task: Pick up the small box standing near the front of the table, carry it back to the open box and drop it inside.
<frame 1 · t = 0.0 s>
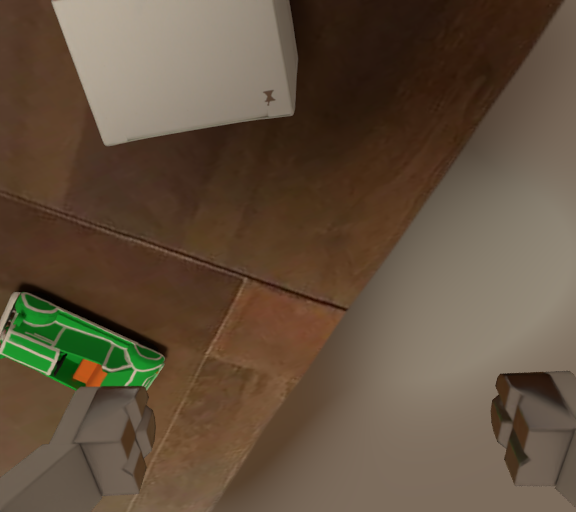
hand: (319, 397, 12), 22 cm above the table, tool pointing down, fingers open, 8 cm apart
toy car: (88, 334, 40), on the table
small box: (218, 19, 28), on the table
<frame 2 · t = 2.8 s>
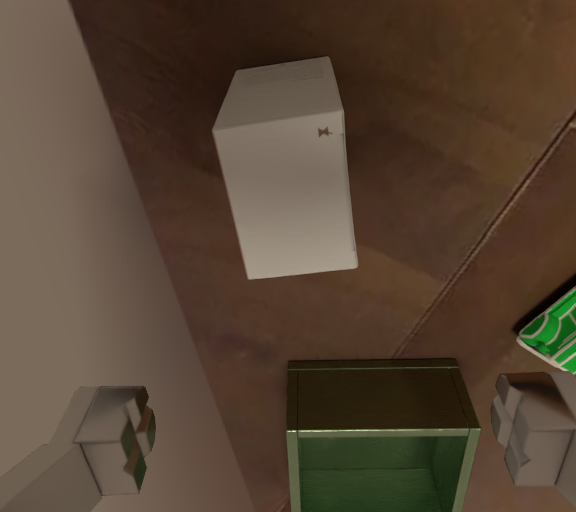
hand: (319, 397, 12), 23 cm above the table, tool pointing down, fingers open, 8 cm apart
open box: (367, 416, 45), on the table
small box: (292, 127, 32), on the table
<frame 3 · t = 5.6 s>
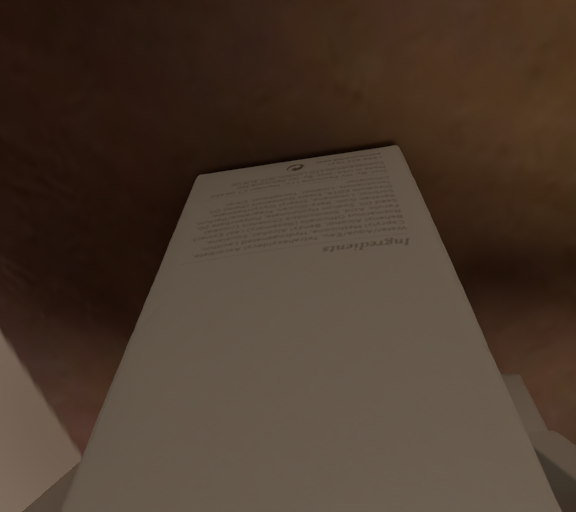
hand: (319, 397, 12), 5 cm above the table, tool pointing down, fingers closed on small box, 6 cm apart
small box: (317, 272, 16), on the table, touching gripper
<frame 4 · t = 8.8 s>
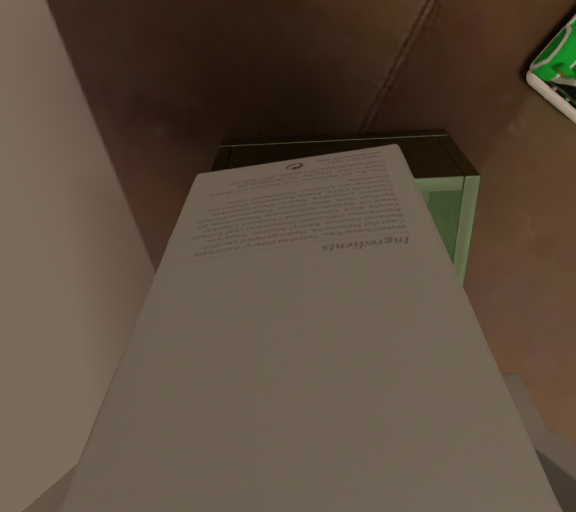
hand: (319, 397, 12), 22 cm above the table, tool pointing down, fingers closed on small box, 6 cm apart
open box: (333, 232, 35), on the table
small box: (316, 271, 16), point 17 cm above the table, touching gripper
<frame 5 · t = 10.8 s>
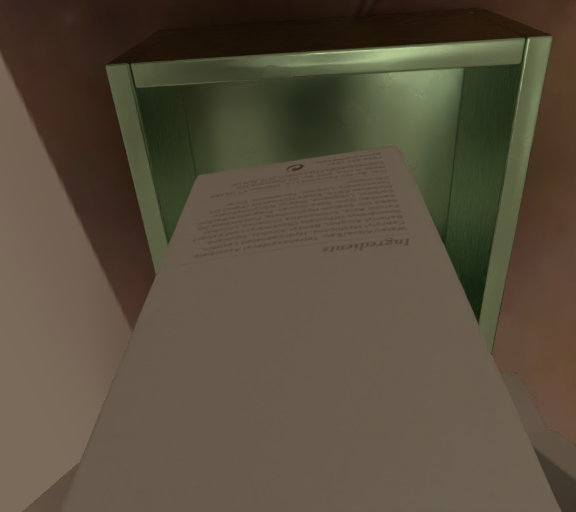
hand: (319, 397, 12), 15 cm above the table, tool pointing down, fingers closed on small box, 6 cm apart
open box: (322, 170, 25), on the table
small box: (317, 272, 16), point 10 cm above the table, touching gripper
when the fingers open (11 cm above the table, at t = 12.5 s): small box drops 5 cm, resting on open box.
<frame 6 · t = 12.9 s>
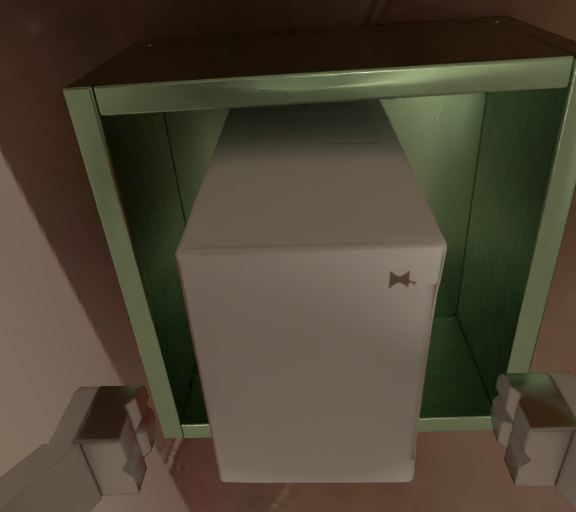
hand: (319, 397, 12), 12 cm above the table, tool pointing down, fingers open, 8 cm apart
open box: (324, 197, 22), on the table
small box: (308, 193, 21), point 1 cm above the table, touching open box
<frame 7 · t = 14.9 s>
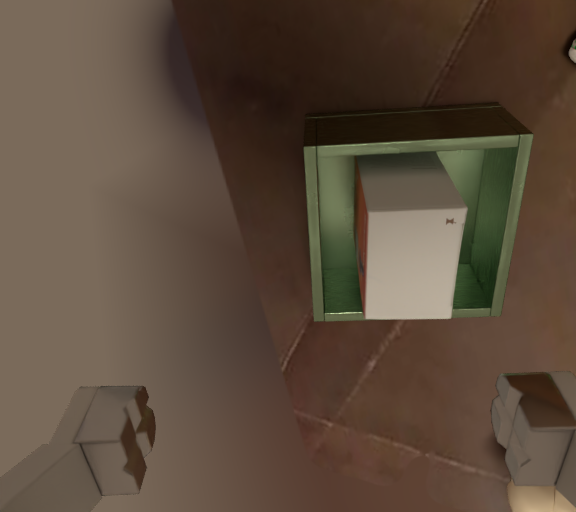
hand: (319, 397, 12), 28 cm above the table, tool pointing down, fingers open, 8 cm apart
open box: (396, 194, 40), on the table
figurine: (544, 447, 55), on the table
small box: (389, 192, 39), point 1 cm above the table, touching open box
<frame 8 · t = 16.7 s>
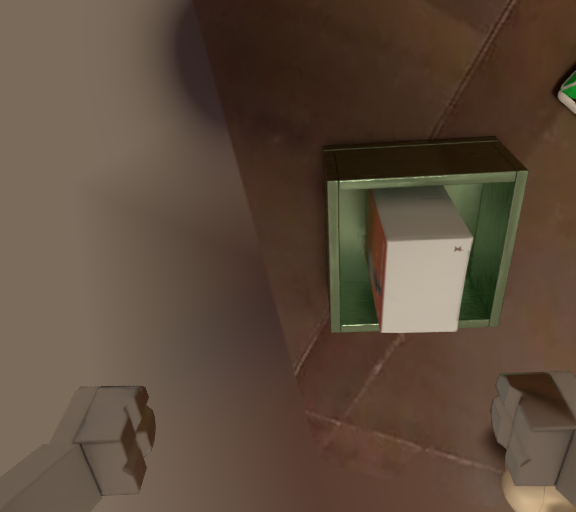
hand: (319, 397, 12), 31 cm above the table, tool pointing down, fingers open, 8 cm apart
open box: (403, 216, 44), on the table
figurine: (534, 441, 60), on the table
small box: (397, 214, 43), point 1 cm above the table, touching open box
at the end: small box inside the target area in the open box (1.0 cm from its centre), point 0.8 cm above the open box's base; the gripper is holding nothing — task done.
